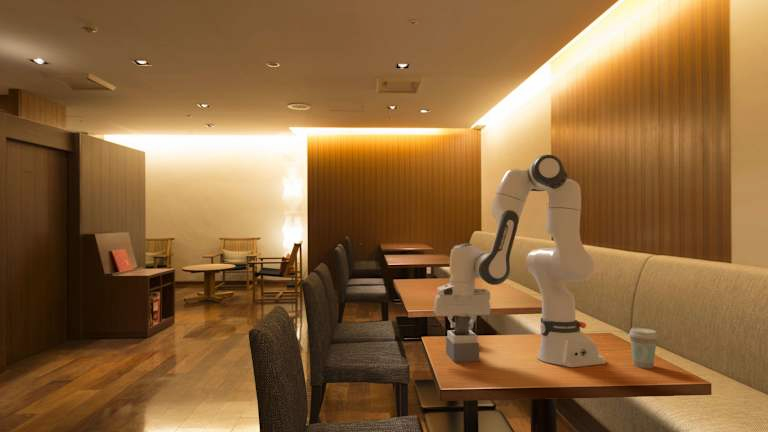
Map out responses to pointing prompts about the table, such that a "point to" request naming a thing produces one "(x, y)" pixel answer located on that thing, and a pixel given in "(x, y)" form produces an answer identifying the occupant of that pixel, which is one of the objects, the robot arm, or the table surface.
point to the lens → (462, 325)
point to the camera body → (462, 347)
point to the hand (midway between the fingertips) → (461, 327)
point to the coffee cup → (643, 346)
